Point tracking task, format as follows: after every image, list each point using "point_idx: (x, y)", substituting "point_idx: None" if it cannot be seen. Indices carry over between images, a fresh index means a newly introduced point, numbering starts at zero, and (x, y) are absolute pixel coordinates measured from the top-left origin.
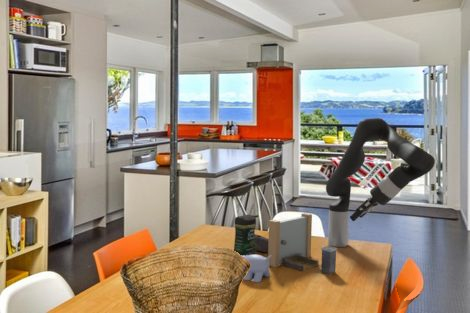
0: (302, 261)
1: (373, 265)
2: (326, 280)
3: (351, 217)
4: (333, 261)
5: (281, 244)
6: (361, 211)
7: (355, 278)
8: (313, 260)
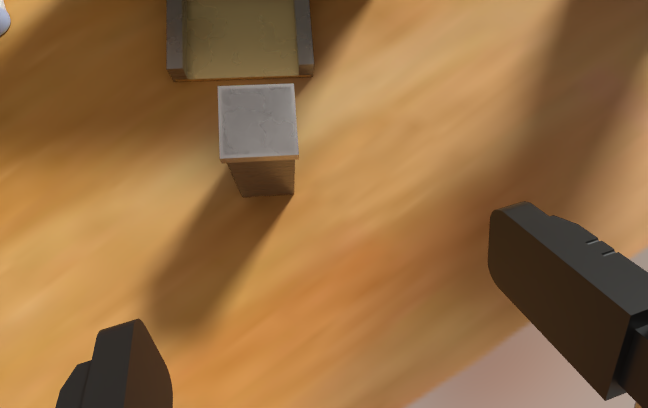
0: (284, 1)
1: None
2: (158, 242)
3: (79, 382)
4: (270, 178)
5: None
6: (553, 270)
7: (303, 314)
8: (297, 45)
